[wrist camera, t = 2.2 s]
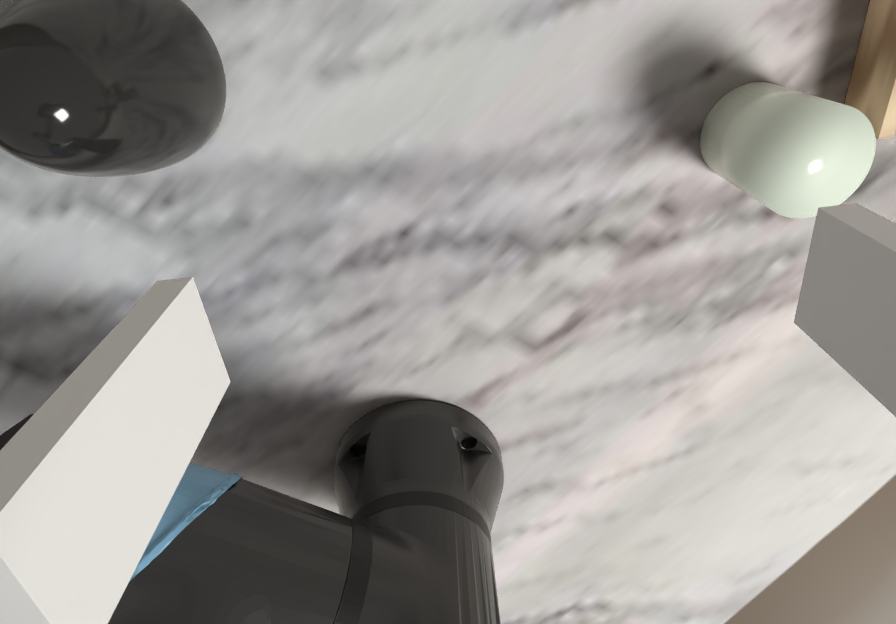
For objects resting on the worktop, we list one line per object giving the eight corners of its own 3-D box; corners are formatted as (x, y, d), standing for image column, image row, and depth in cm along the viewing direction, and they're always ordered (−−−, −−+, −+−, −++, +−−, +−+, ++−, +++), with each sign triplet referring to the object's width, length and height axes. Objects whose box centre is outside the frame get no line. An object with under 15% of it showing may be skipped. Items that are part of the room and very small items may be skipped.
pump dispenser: (108, -72, 33) (-110, -110, 20) (272, 48, 36) (181, 84, 23) (48, 83, 37) (-169, 137, 24) (201, 178, 40) (87, 274, 27)
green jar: (785, 174, 41) (857, 213, 34) (693, 182, 41) (747, 222, 34) (805, 78, 38) (891, 99, 31) (707, 85, 38) (769, 108, 31)
